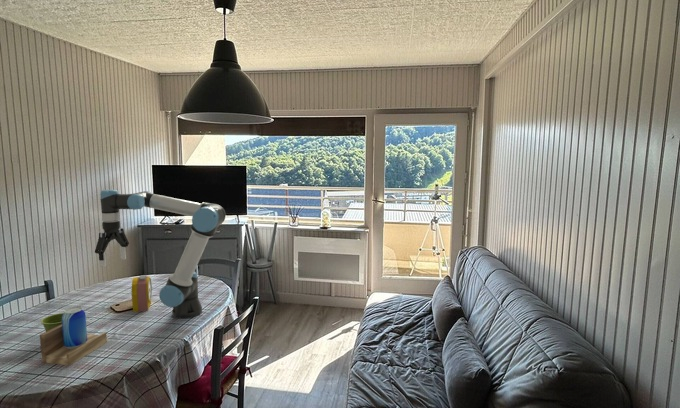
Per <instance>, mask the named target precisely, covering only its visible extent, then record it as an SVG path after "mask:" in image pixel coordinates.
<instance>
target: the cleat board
mask: <svg viewBox="0 0 680 408" xmlns="http://www.w3.org/2000/svg"><path fill="white" fill-rule="evenodd" d="M107 337H108V335H107V332H102V333H100V334H90V333H89V334H88V333H87V342H86V343H85V344H83V345H82V346H80V347H78V348H76V349H67V348H66V347H65V346H64V341H63V329H62V324H61V325H59V326H57V327H55V328H53V329H51V330H49V331H47V332H46V331H45V332H43V333H41V334H39V343H40V351H41V352H40V353H41V363H42V364H44V363H45V364H52V365H61V366H62V365H63V366H71V365H72V364H74V363H76V362H78V361H80V360H81V359H83V358H85V357H86V356H87V355H89V354H90V353H93V352H94V351H95V350H97V349H98V348H101V347H102V346H103V345H105V344H107V343H108V340H107V339H108V338H107Z"/></svg>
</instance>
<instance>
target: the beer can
mask: <svg viewBox="0 0 680 408" xmlns="http://www.w3.org/2000/svg"><path fill="white" fill-rule="evenodd" d="M63 313H64V314H63V316H62V329H63V341H64V346H65V347H66V348H67V349H76V348H78V347H80V346H82V345H83V344H85V343H86V342H87V334H88V332H87V331H88V330H87V318H86V312H85V310H83V307H81V306H80V307H79V306H78V307H77V306H75V307H70V308H67V309H64V311H63Z"/></svg>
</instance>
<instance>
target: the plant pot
mask: <svg viewBox="0 0 680 408" xmlns="http://www.w3.org/2000/svg"><path fill="white" fill-rule="evenodd" d="M63 314H64V312H61V313H55V314H52V315H48V316H46V317H44V318H42V319H41V320H40V323H41V324H42V325H43V328H44V331H45V332H47V331H49V330H51V329H53V328H55V327H57V326H59V325H61V324H62V316H63Z"/></svg>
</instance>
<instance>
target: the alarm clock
mask: <svg viewBox="0 0 680 408" xmlns="http://www.w3.org/2000/svg"><path fill="white" fill-rule="evenodd" d="M152 290H153V288H152V278H151V277H150V275H148V276H147V274H143V275H142V274H141V275H139V276H138V277H137V276H136V277H133V278H132V281H131V302H132V312H133V313H136V312H145V311H146V312H148V311H150V306H151V304H152V296H153V295H152V293H153V292H152Z"/></svg>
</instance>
